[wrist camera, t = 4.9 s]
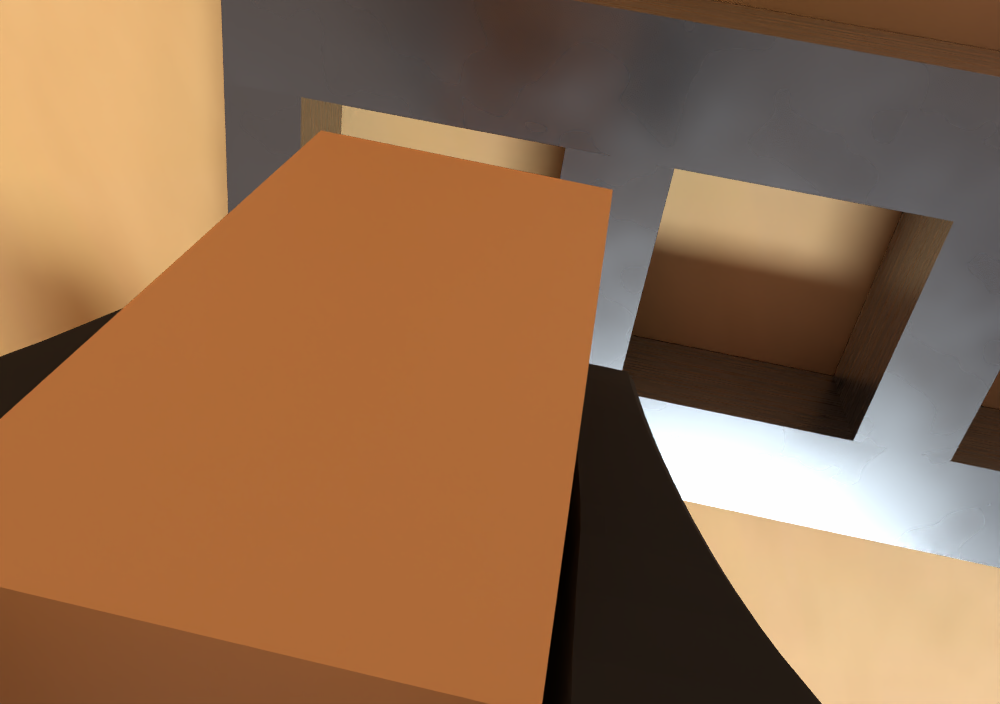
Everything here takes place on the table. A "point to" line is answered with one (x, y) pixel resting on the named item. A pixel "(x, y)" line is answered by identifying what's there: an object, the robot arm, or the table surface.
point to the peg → (314, 449)
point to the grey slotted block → (729, 154)
